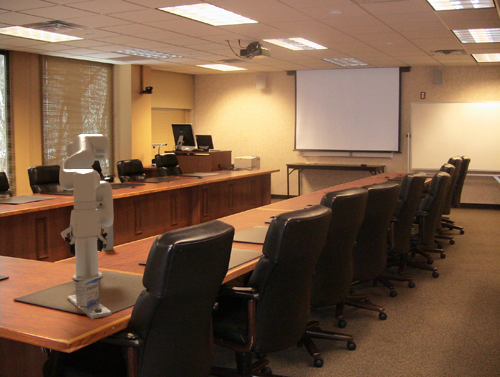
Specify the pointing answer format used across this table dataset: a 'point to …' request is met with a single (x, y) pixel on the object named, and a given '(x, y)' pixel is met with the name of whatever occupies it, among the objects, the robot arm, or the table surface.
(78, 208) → the robot arm
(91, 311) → the beige hinge strap
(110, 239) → the vintage mobile phone
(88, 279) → the medicine box
